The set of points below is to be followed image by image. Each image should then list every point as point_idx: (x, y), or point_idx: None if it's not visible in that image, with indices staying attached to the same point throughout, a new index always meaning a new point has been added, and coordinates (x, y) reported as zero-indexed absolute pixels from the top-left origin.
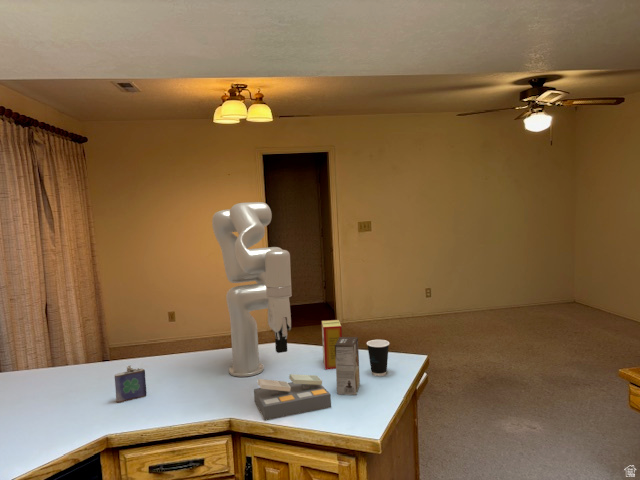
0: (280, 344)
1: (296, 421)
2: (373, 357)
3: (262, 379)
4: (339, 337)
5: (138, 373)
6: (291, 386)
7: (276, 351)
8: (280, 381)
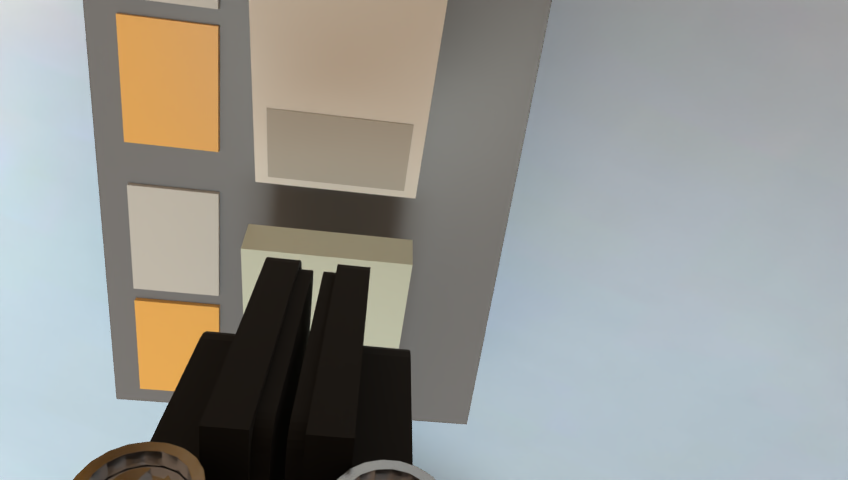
0: (168, 411)
1: (13, 56)
2: None
3: None
4: None
5: None
6: (415, 222)
7: (337, 265)
8: (407, 144)
